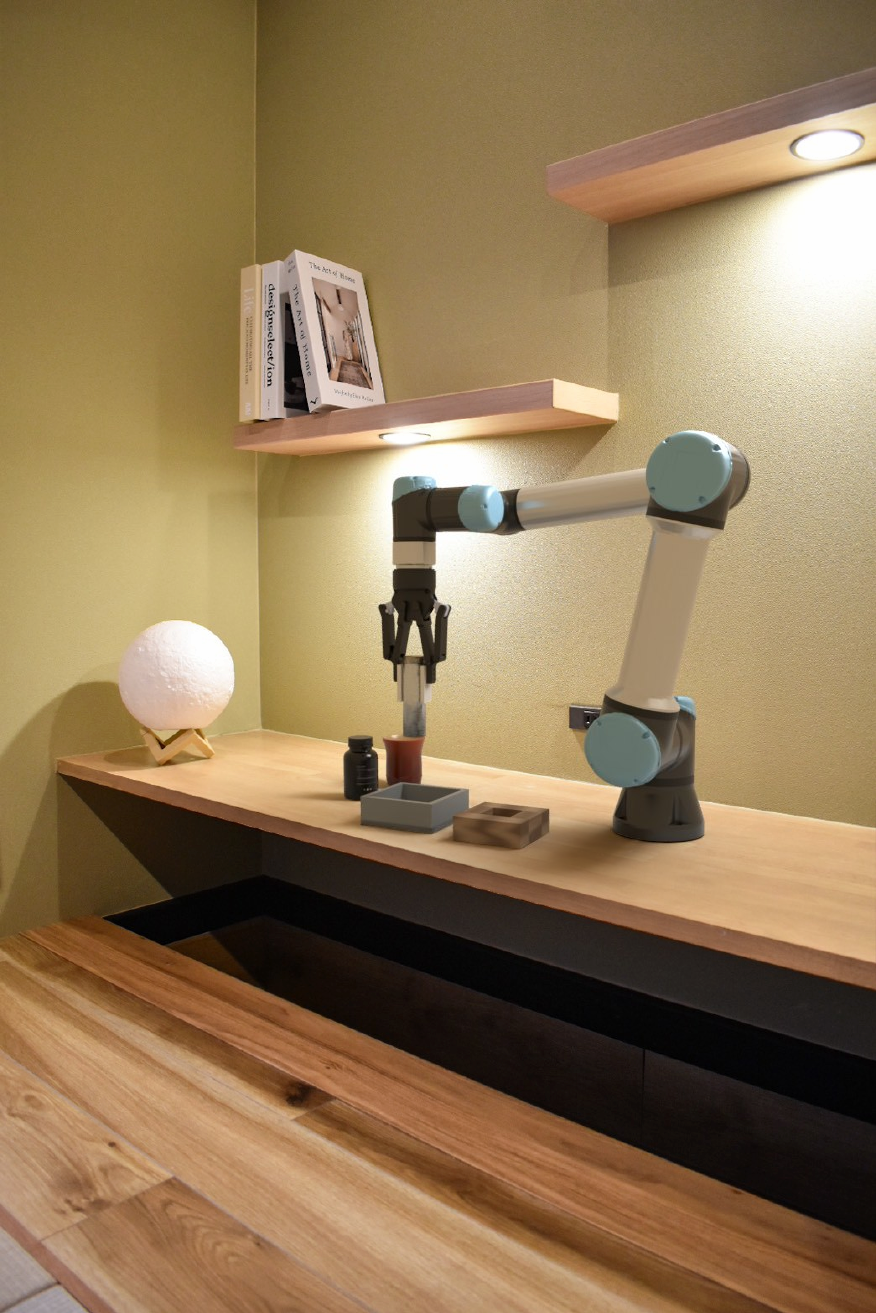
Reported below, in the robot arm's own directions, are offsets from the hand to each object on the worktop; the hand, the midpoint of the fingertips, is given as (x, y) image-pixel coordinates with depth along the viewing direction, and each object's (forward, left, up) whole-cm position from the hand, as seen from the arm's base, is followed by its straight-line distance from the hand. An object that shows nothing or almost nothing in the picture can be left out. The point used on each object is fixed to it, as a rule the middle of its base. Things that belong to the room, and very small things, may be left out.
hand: (414, 701), depth 177 cm
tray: (0, 0, -21) cm, 21 cm away
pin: (0, 0, -6) cm, 6 cm away
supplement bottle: (+19, -12, -21) cm, 31 cm away
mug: (+18, -26, -21) cm, 38 cm away
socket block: (-18, +3, -21) cm, 28 cm away
